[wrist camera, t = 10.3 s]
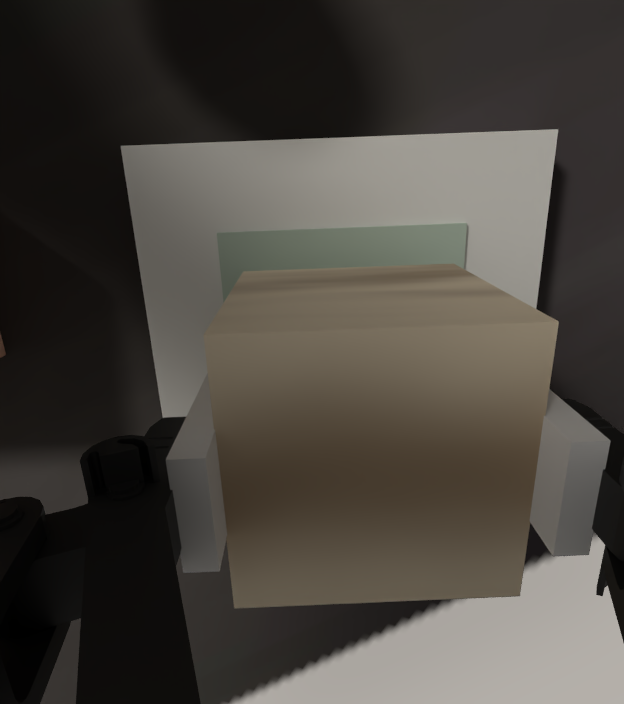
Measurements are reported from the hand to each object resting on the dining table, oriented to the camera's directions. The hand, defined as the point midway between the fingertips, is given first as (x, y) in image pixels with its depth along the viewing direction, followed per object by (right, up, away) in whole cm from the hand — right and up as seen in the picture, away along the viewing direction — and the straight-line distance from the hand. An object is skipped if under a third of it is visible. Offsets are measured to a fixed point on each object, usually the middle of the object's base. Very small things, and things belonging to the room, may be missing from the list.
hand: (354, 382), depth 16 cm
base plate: (0, +2, +5) cm, 6 cm away
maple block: (0, 0, +2) cm, 2 cm away
